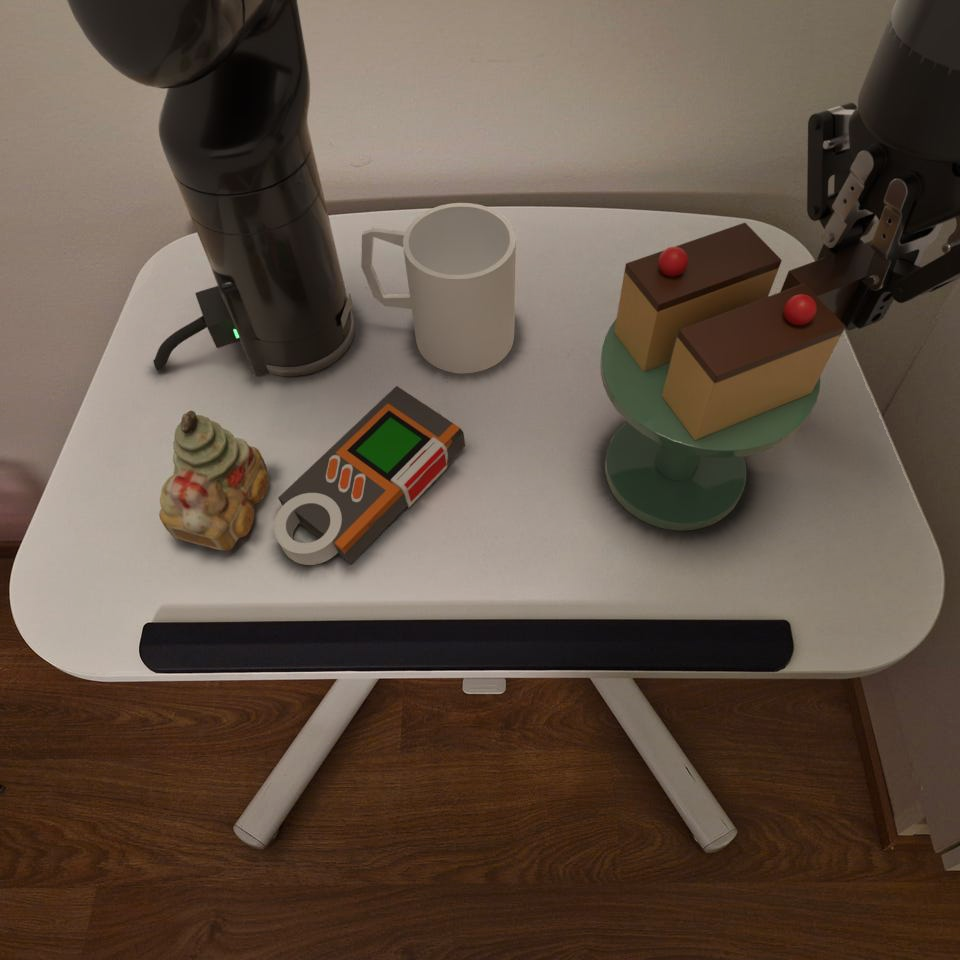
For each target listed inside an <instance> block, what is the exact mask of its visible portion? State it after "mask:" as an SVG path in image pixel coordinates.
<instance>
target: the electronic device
mask: <svg viewBox="0 0 960 960" xmlns="http://www.w3.org/2000/svg"><path fill="white" fill-rule="evenodd" d="M465 447H466V441H465V434H464V430H463V429H462V428H461V427H460V426H458V425H456V424H455V423H454V422H452V421H450V420H449V419H448V418H446V417H445V416H443V415H442V413H441V412H440V411H439V410H438V409H437V408H436V407H433V405H431V404H430V403H423V402H422V401H421V400H419V399H417V398H416V397H414V396H413V395H411V394H410V393H408V392H407V391H406V390H404V389H402V388H401V387H399V386H398V385H396V386H395V387H393V388H392V389H391V390H390V391H389V392H388V393H387V394H386V395H385V396H384V397H383V398H382V399H381V400H380V401H379V402H378V403H377V404H376V405H374V406H373V408H371V409H370V410H369V411H367V413H366V414H365V415H364V416H362V417H361V419H360V420H359V421H357V422H356V423H355V424H354V425H353V426H352V427H351V428H350V429H349V430H348V431H347V432H346V433H344V434H343V435H342V437H341V438H340V439H338V440H337V441H336V442H335V444H333V445H332V446H331V447H330V448H329V449H328V450H327V451H325V453H323V455H322V456H321V457H320V458H318V460H316V461H315V462H313V464H312V465H311V466H310V467H309V468H308V469H307V470H306V471H304V472H303V474H301V475H300V476H299V477H298V478H297V479H296V480H295V481H294V482H292V484H291V485H289V487H288V488H286V489H285V491H283V492H282V493H281V494H280V495H279V496H278V497H277V499H278V500H279V503H280V504H281V507H280V508H279V510H278V512H277V513H276V515H275V518H274V522H273V533H274V536H275V539H276V542H277V543H278V544H279V546H280V547H281V549H282V550H283V552H284V554H285V556H287V557H288V558H289V559H290V560H292V561H293V562H295V563H297V564H301V565H305V566H315V565H320V564H322V563H325V562H328V561H329V560H331V559H333V558H334V557H335V556H337V554H338V555H339V556H340V557H341V558H343V559H344V560H345V561H346V562H347V563H349V564H350V565H352V564H353V563H354V562H355V561H356V560H357V559H358V558H359V557H360V556H361V555H362V554H363V553H364V552H365V551H366V549H368V548H369V547H370V546H371V544H373V543H374V541H376V540H377V539H378V537H379V536H380V535H381V534H382V533H383V532H384V531H385V530H386V529H387V528H388V527H389V526H390V525H391V524H392V523H393V522H394V521H395V520H396V519H397V517H398V516H400V515H401V513H402V512H404V511H405V509H406V508H407V507H408V509H410V507H411V506H413V504H414V503H416V501H417V500H418V499H419V498H420V497H421V496H422V495H423V494H424V493H425V492H426V491H427V490H428V489H429V487H431V486H432V484H433V483H434V482H435V481H436V480H437V479H438V478H439V477H440V476H442V474H443V473H444V472H445V471H446V470H447V468H448V465H449V464H450V463H451V462H452V461H453V460H454V458H456V456H457V455H458V454H460V452H461V451H462V450H463V449H465ZM299 524H300V525H301V526H303V527H304V528H305V529H306V530H307V531H308V532H310V533H311V534H313V535H314V536H315V537H316V538H318V539H317V540H313V541H311V542H299V541H296V540H294V532H295V530H296V528H297V526H298V525H299Z"/></svg>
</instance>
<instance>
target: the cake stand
mask: <svg viewBox="0 0 960 960" xmlns="http://www.w3.org/2000/svg"><path fill="white" fill-rule="evenodd" d="M616 319H617V317H616V318H615V319H614V321H613V322H612V323H611V325H610V326H609V328H608V330H607V331H606V335H605V336H604V339H603V343H602V347H601V354H600V360H599V361H600V362H599V366H600V370H599V371H600V377H601V381H602V385H603V388H604V391H605V393H606V395H607V397H608V399H609V401H610V402H611V405H612V406H613V407H614V409H615V410H616V411H617V412H618V413H619V415H620V416H621V417H622V418H623V419H624V420H625V421H626V422H625V423H624V424H623V425H621V426H620V427H619V428H618V430H617V431H615V433H614V435H613V436H612V438H611V439H610V442H609V444H608V447H607V450H606V457H605V461H604V472H605V478H606V481H607V485H608V486H609V489H610V491H611V492H612V495H613V496H614V498H615V499H616V500H617V502H618V503H619V504H620V505H621V506H622V507H623V508H624V509H625V510H626V511H627V512H628V513H630V515H632V516H634V517H635V518H637V519H638V520H640V521H642V522H644V523H646V524H648V525H651V526H654V527H656V528H661V529H665V530H671V531H694V530H700V529H704V528H707V527H709V526H711V525H714V524H716V523H717V522H720V521H722V520H723V519H724V518H725V517H727V516H728V515H729V514H730V513H731V512H732V511H733V510H734V508H735V507H736V506H737V504H738V502H739V500H740V499H741V497H742V495H743V492H744V490H745V486H746V484H747V483H746V482H747V466H746V460H745V458H744V457H747V456H751V455H757V454H759V453H762V452H765V451H768V450H771V449H773V448H774V447H777V446H779V445H781V444H783V443H784V442H786V441H787V440H789V439H790V438H791V437H793V436H794V435H795V434H796V433H797V432H798V431H800V429H801V428H802V427H803V426H804V424H805V423H806V422H807V420H808V419H809V418H810V416H811V413H812V412H813V410H814V408H815V405H816V404H817V402H818V398H819V395H820V391H821V381H822V380H821V376H820V377H819V379H818V381H817V383H816V385H815V387H814V389H813V391H812V393H811V394H808V395H806V396H803V397H801V398H798V399H796V400H793V401H791V402H789V403H786V404H784V405H781V406H779V407H776V408H774V409H771V410H769V411H766V412H764V413H761V414H759V415H756V416H754V417H751V418H749V419H746V420H744V421H742V422H739V423H737V424H734V425H732V426H729V427H727V428H724V429H722V430H719V431H717V432H714V433H712V434H709V435H707V436H704V437H702V438H700V439H697V440H694V439H693V438H692V436H691V435H690V434H689V432H688V431H687V429H686V428H685V427H684V425H683V424H682V423H681V421H680V420H679V419H678V417H677V416H676V415H675V413H674V412H673V411H672V409H671V408H670V407H669V405H668V404H667V403H666V401H665V400H664V399H663V397H662V393H663V389H664V385H665V381H666V378H667V371H668V367H669V363H670V362H669V363H666V364H664V365H661V366H658V367H656V368H653V369H650V370H648V371H645V372H643V371H642V369H641V368H640V367H639V365H638V364H637V363H636V361H635V360H634V358H633V357H632V356H631V354H630V353H629V352H628V350H627V349H626V348H625V346H624V345H623V344H622V342H621V341H620V340H619V338H618V337H617V336H616V334H615V333H614V331H615V325H616Z"/></svg>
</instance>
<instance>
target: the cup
mask: <svg viewBox="0 0 960 960" xmlns="http://www.w3.org/2000/svg"><path fill="white" fill-rule="evenodd" d="M374 238H375V239H379V240H382V241H384V242H387V243H390V244H393V245H395V246H399V247H401V248H403V255H404V262H405V264H404V265H405V270H406V277H407V284H408V292H409V293H404V294H403V293H401V294H399V293H398V294H397V293H396V294H395V293H394V294H385V292H384V289H383V287H382V285H381V282H380V279H379V277H378V274H377V273H376V270H375V268H374V264H373V259H374V258H373V257H374V240H375V239H374ZM516 238H517V237H516V232H515V228H514V227H513V225H512V223H511V222H510V221H509V220H508V219H507V217H505V216H504V215H503V214H502V213H500V212H499V211H497V210H495V209H493V208H492V207H488V206H485V205H482V204H479V203H472V202H453V203H447V204H441V205H438V206H435V207H432V208H429V209H428V210H426V211H424V212H422V213H421V214H419V215H418V216H417V217H415V218H414V219H413V220H412V221H411V222H410V223H409V224H408V226H407V228H406V229H405V231H403V230H395V229H385V228H376V227H371V228H369V229H367V230H364V231H362V233H361V259H360V260H361V261H360V267H361V269H362V272H363V274H364V277H365V279H366V282H367V284H368V287H369V289H370V291H371V294H372V297H373V298H374V299H376V300H377V301H378V302H379V303H380V304H382V305H383V306H384V307H390V308H398V309H405V310H411V314H412V321H413V330H414V334H415V336H414V337H415V343H416V346H417V349H418V352H419V354H420V355H421V356H422V358H424V359H425V360H426V362H427V363H428V364H430V365H432V366H433V367H435V368H437V369H439V370H442V371H445V372H449V373H453V374H473V373H478V372H483V371H486V370H488V369H490V368H492V367H494V366H496V365H497V364H499V363H501V362H502V361H503V360H504V359H505V358H506V357H507V356H508V354H509V353H510V351H511V350H512V349H513V345H514V343H515V327H516V326H515V321H516V319H515V318H516V317H515V316H516V314H515V313H516V256H517V255H516V249H517V240H516Z"/></svg>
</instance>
